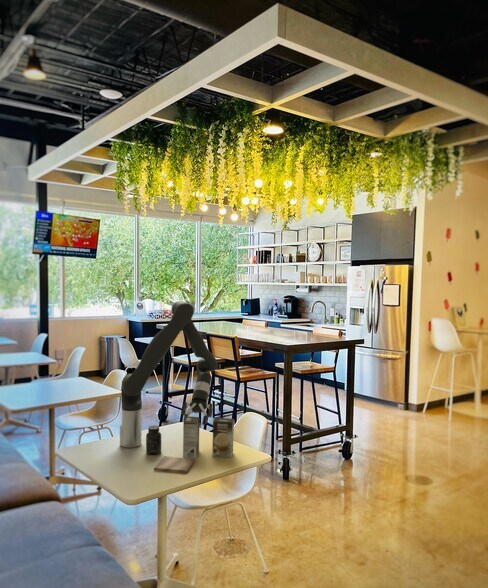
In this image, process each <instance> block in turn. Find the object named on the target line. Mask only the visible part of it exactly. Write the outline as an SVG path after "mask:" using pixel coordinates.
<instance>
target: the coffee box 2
mask: <svg viewBox="0 0 488 588" xmlns="http://www.w3.org/2000/svg"><path fill="white" fill-rule="evenodd" d="M212 424H213V425H212V449H211V450H212V453H211V456H212V457H215V458H216V457H217V458H230V459H231V458H233V454H234V435H235V433H234V431H235V427H234V426H235V419H234V418H228V417H216V416H215V417H214V419H213V423H212Z"/></svg>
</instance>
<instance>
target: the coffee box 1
mask: <svg viewBox="0 0 488 588" xmlns="http://www.w3.org/2000/svg"><path fill="white" fill-rule="evenodd" d="M182 428H183V430H182V431H183V433H182V434H183V435H182V436H183V437H182V458H192V459H198V456H199V452H200V416H190V415H189V416H187V417H186V418H185V420H184V419H183V427H182Z"/></svg>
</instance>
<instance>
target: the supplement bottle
mask: <svg viewBox="0 0 488 588" xmlns="http://www.w3.org/2000/svg"><path fill="white" fill-rule="evenodd" d="M147 429H148V430H147V431H148V432H147V433H146V435H145V436H146V437H145V453H146V455H148V456H158V455H160V454H161V453H162V433H161V432H160V426H159V425H150V426H148V428H147Z"/></svg>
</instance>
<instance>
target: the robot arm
mask: <svg viewBox="0 0 488 588" xmlns="http://www.w3.org/2000/svg"><path fill="white" fill-rule="evenodd" d="M194 313H195V309H194V307H193V305H192V304H191V303H189V302H187V301H183V300H177V301H175V302H174V303H173V304H172V306H171V314H172V315H173V316H172V317H171V318H170V320H169V322H168V323H167V324H166V325H165V326H164V327H163V328H162V329H161V330H160V331H159V332H158V333H156V334H155V335H154V337H152V339H151V340H150V341H149V343H148V345H147V347H146V348H145V350H144V352H143V354H142V356H141V359H140V361H139V364H138V365H137V366H136V368H135V369H134V370H133V372H132V373H129V374H126V375H125V376H124V377H123V378H122V381H121V391H120V392H121V399H120V400H121V425H120V426H119V446H121V447H124V448H137V447H140V446H141V445H142V441H143V439H142V433H143V432H142V429H143V428H142V427H143V425H142V423H143V419H142V418H143V417H142V415H143V413H142V412H143V401H142V390H143V389H144V387H145V386H146V383H147V381H148V380H149V378H150V376H151V374H152V373H153V372H154V370H155V369H156V368H157V367H158V365H159V364H160V363H161V361H162V360H163V358H164V357H165V356H166V354H167V353H168V351H169V349H170V348H171V347H172V345H173V344H174V342H175V340H176V339H177V337H178V335H179V334H180V333H181V332H182V331H183V332H184V334H185V336H186V337H185V338H186V339H187V341H188V343H189V345H190V347H191V350H192V352H193V354H194V356H195V357H196V358H200V359H199V360H198V361H197V363H196V376H197V377H196V381H195V385H194V387H193V393H192V395H191V402H187V401H184V402H183V406H182V408H181V415H182V416H183V421H184V420H185V418H186V417H187V416H189V417H190V415H192V414H193V413H194V414H201V413H202V414H203V418H202V426H205V425H206V424H207V421H208V418H212V416H213V410H214V406H213V403H212V402H211V403H209V404H208V400H209V396H210V390H211V389H210V388H211V383H212V375H211V374H210V372H214V371H216V370H217V369H218V365H219V364H218V361H217V358H216V357H215V356H214V354H212V352H211V351H210V349H208V347H207V344H206V342H205V341H204V339H203V336H202V335H201V333H200V331H199V330H198V328H197V327H196V326H195V324H194V322H193V320H192V319H193V316H194ZM187 408H188V409H187ZM206 409H208V413H207V412H206Z"/></svg>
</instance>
